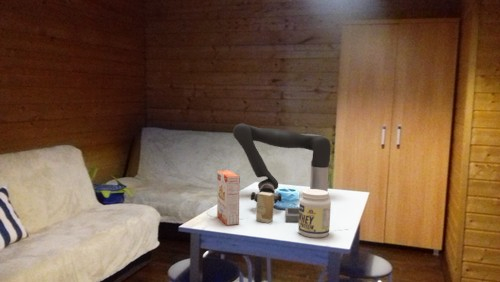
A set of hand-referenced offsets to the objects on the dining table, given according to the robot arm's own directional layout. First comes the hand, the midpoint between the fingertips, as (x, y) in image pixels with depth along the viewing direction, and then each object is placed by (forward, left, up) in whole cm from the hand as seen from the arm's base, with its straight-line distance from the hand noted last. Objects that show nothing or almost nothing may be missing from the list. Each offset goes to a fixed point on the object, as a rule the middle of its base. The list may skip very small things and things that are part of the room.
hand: (265, 200), depth 196 cm
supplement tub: (+24, +20, -7) cm, 32 cm away
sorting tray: (+4, +16, -7) cm, 17 cm away
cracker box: (+12, -16, -7) cm, 21 cm away
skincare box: (+10, 0, -7) cm, 12 cm away
